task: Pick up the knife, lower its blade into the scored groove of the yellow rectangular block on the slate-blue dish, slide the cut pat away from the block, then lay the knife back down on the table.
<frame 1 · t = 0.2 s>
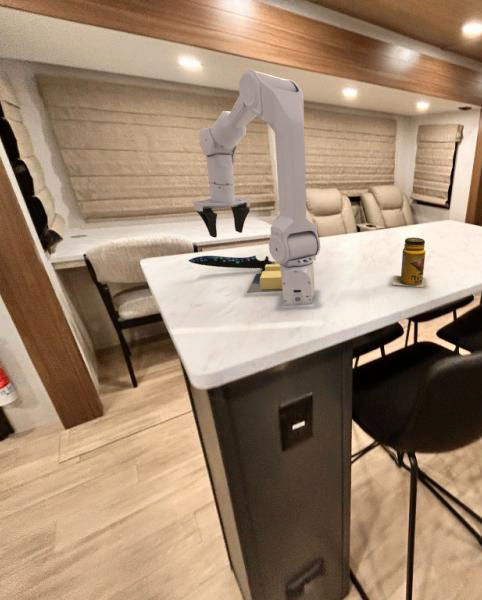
hand: (226, 234, 85), 10 cm above the table, tool pointing down, fingers open, 7 cm apart
yellow rectangular block: (275, 285, 77), resting on butter dish
butter pat: (277, 270, 83), point 2 cm above the table, slide at 0.0 cm, touching butter dish
knife: (250, 271, 87), on the table
butter dish: (276, 284, 80), on the table
condiment: (408, 282, 86), on the table
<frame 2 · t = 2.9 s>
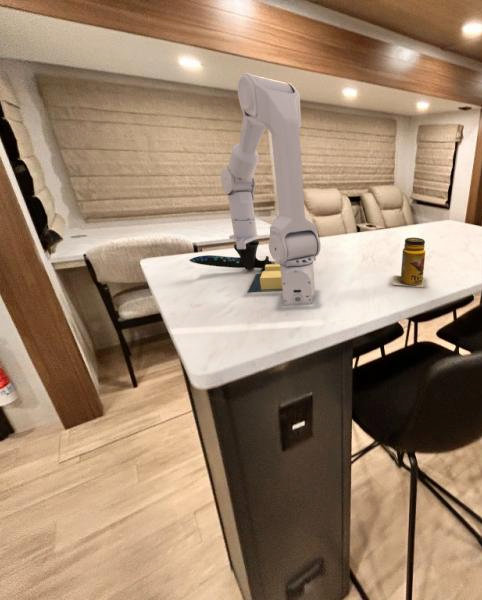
hand: (250, 268, 87), 1 cm above the table, tool pointing down, fingers closed on knife
knife: (250, 271, 87), on the table, touching gripper
everything else where it was.
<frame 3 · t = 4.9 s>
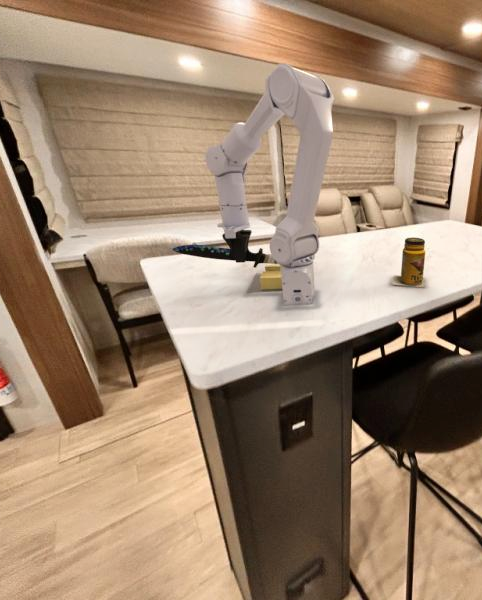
hand: (241, 261, 77), 6 cm above the table, tool pointing down, fingers closed on knife
knife: (242, 264, 78), point 5 cm above the table, touching gripper
everything else where it was.
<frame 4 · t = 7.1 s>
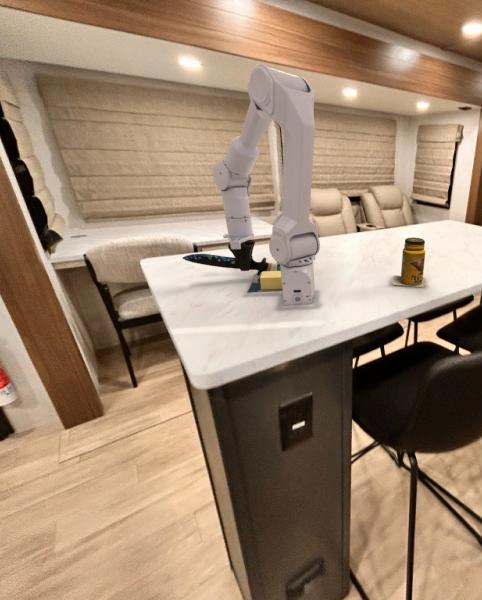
hand: (245, 269, 81), 3 cm above the table, tool pointing down, fingers closed on knife
butter pat: (278, 268, 85), point 2 cm above the table, slide at 2.1 cm, touching butter dish, knife
knife: (246, 272, 82), point 2 cm above the table, touching butter pat, gripper
everything else where it was.
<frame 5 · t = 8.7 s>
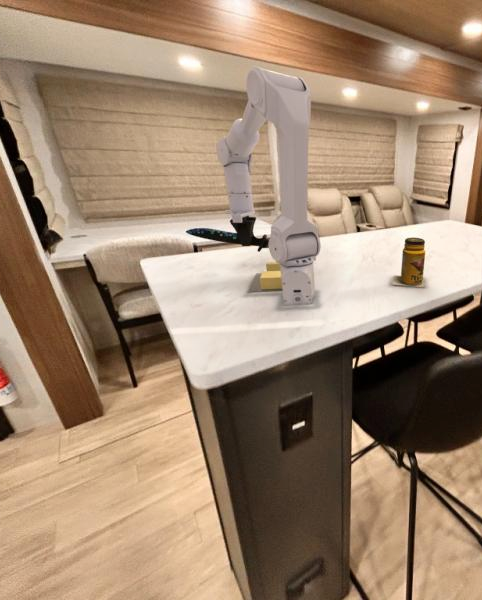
hand: (247, 245, 84), 8 cm above the table, tool pointing down, fingers closed on knife
butter pat: (278, 268, 85), point 2 cm above the table, slide at 2.1 cm, touching butter dish
knife: (247, 248, 85), point 7 cm above the table, touching gripper
everything else where it was.
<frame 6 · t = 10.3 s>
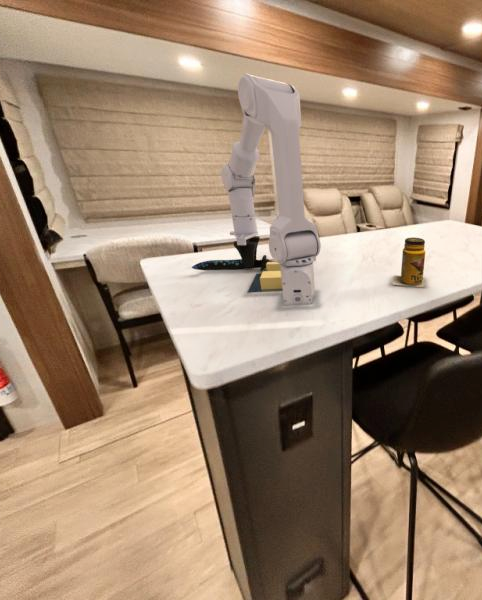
hand: (250, 264, 87), 2 cm above the table, tool pointing down, fingers open, 3 cm apart
knife: (251, 271, 88), on the table
everything else where it was.
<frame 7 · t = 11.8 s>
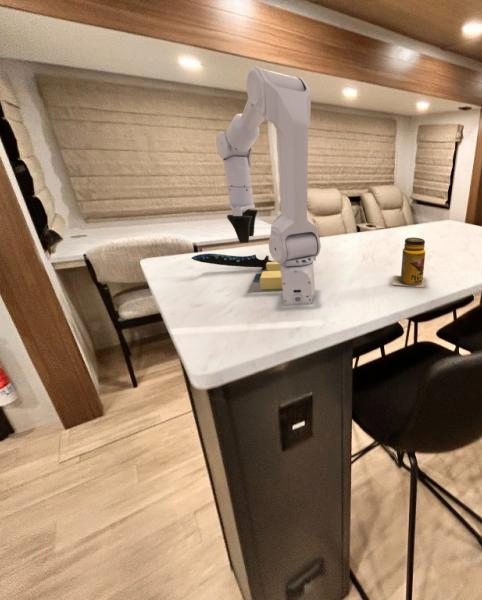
hand: (247, 239, 84), 9 cm above the table, tool pointing down, fingers open, 7 cm apart
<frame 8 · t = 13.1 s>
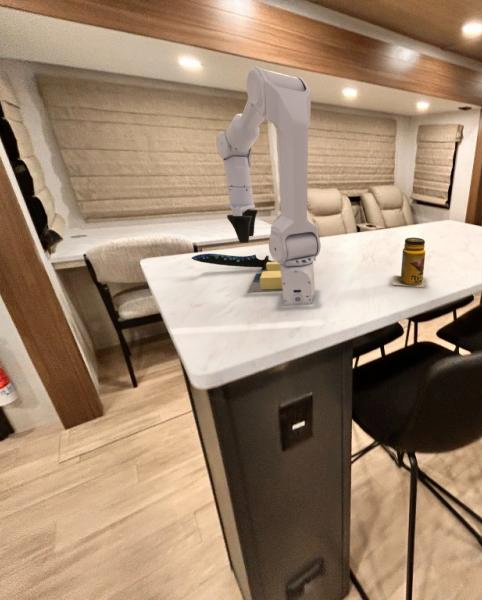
hand: (247, 239, 84), 9 cm above the table, tool pointing down, fingers open, 7 cm apart
nothing on the table moved.
at the end: butter pat slide at 2.1 cm; the gripper is holding nothing; knife inside the target area (0.2 cm from its centre), on the table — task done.
